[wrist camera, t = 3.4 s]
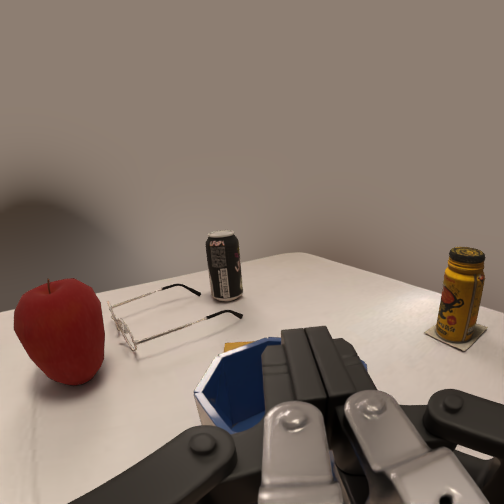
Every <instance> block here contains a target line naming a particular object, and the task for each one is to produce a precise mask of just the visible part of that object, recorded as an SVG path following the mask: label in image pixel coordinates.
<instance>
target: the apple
mask: <svg viewBox="0 0 504 504" xmlns="http://www.w3.org/2000/svg"><path fill="white" fill-rule="evenodd" d="M14 331H15V333H16V335H17V336H18V338H19V340H20V342H21V343H22V345H23V347H24V349H25V350H26V352H27V354H28V355H29V357H30V359H31V360H32V361H33V362H34V363H35V364H36V365H37V366H38V367H39V368H40V369H41V370H42V371H43V372H44V373H45V374H46V375H47V376H48V378H50V379H52V380H54V381H56V382H60V383H63V384H67V385H80V384H83V383H86V382H88V381H89V380H91V379H92V378H93V377H94V375H95V374H96V373H97V371H98V370H99V368H100V367H101V365H102V362H103V360H104V343H105V331H104V324H103V317H102V309H101V302H100V301H99V299H98V297H97V296H96V294H95V292H94V291H93V289H92V288H91V287H89V286H87V285H86V284H84V283H82V282H80V281H78V280H76V279H74V278H71V279H63V280H58V281H54V282H50V283H49V279H48V283H46V284H43V285H41V286H39V287H37V288H34V289H32V290H30V291H28V292H26V293H25V294H23V296H22V297H21V299H20V301H19V303H18V305H17V307H16V309H15V311H14Z"/></svg>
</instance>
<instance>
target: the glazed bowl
mask: <svg viewBox="0 0 504 504" xmlns="http://www.w3.org/2000/svg"><path fill="white" fill-rule="evenodd" d="M270 345H281V338H279V337H268V339H267V338H263V339H260V340H257V341H255V342H252V343H249V344H247V345H244V346H241V347H238V348H236V349H233V350H230V351H227V352H224V353H221V354H219V355H218V356H216V357H215V358H214V360H213V361H212V363H211V365H210V366H209V368H208V369H207V371H206V373H205V374H204V376H203V377H202V379H201V381H200V382H199V384H198V385H197V387H196V388H195V390H194V398H195V402H196V406H197V410H198V413H199V417H200V421H201V425H212V426H217V427H220V428H222V429H224V430H226V431H227V432H229V433H230V434H234V433H238V432H241V431H245V430H247V429H250V428H252V427H253V426H255V425H256V424H258V423H259V422H260V421H261V419H262V418H263V416H264V414H265V403H264V390H263V373H262V357H261V355H262V353H263V351H264V350H265V348H266V347H267V346H270ZM361 361H362V360H361ZM362 364H363V365H364V367H365V369H366V370H367V364H365V362H364V361H362ZM238 422H239V423H238ZM236 423H237V424H236ZM234 424H236V425H235V426H234V427H233V425H234ZM232 427H233V428H232ZM329 455H330V461H331V467H332V474H333V478H334V481H336V478H335V476H334V473H333V463H334V455H333V451H332V450H329Z"/></svg>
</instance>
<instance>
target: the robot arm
mask: <svg viewBox="0 0 504 504" xmlns="http://www.w3.org/2000/svg"><path fill="white" fill-rule="evenodd" d="M261 357H262V373H263V390H264V403H265V414H264V416H263V418H262V419H261V421H260V422H259V423H258V424H256V425H255V426H253V427H252V428H250V429H247V430H245V431H241V432H238V433H234V434H230V433H229V432H227V431H226V430H224V429H222V428H220V427H217V426H212V425H200V426H195V427H192V428H189V429H187V430H185V431H184V432H182V433H181V434H179V435H178V436H176V437H175V438H174V439H172V440H171V441H169V442H168V443H166V444H165V445H164V446H162V447H161V448H159V449H158V450H156V451H155V452H153V453H152V454H150V455H149V456H147V457H146V458H144V459H143V460H141V461H140V462H138V463H137V464H135V465H133V466H132V467H130V468H129V469H127V470H126V471H124V472H122V473H121V474H119V475H117V476H116V477H114V478H112V479H111V480H109V481H107V482H106V483H104V484H102V485H101V486H99V487H97V488H95V489H94V490H92V491H90V492H88V493H86V494H85V495H83V496H81V497H79V498H77V499H75V500H73V501H72V502H70V503H68V504H252V503H255V502H258V504H344V503H345V504H504V405H503V404H500V403H496V402H493V401H490V400H487V399H484V398H481V397H477V396H474V395H471V394H468V393H465V392H462V391H459V390H455V389H444V390H440V391H438V392H436V393H434V394H433V395H432V396H431V397H430V399H429V402H428V404H427V405H399V404H398V403H397V401H396V400H395V399H394V398H393V397H392V396H391V395H389V394H387V393H385V392H382V391H378V390H377V388H376V387H375V385H374V383H373V381H372V379H371V378H370V376H369V374H368V372H367V370H366V369H365V367H364V365H363V364H362V361H361V360H360V358H359V356H357V353H356V351H355V349H354V347H353V346H352V345H351V344H350V343H348V342H347V341H345V340H344V339H343V338H338V339H332V337H331V335H330V333H329V331H328V329H327V327H326V326H318V327H309V328H304V329H303V328H299V329H288V330H281V345H270V346H267V347H266V348H265V350H264V351H263V353H262V355H261ZM457 445H461V446H464V447H467V448H469V449H472V450H475V451H478V452H481V453H484V454H487V455H490V456H493V457H494V458H492V459H489V460H483V459H479V458H477V457H474V456H471V455H468V454H465V453H462V452H460V451H457V450H455V448H456V446H457ZM329 450H332V451H333V455H334V463H333V473H334V476H335V478H336V481H334V478H333V474H332V467H331V461H330V455H329ZM343 500H344V503H343Z"/></svg>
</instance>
